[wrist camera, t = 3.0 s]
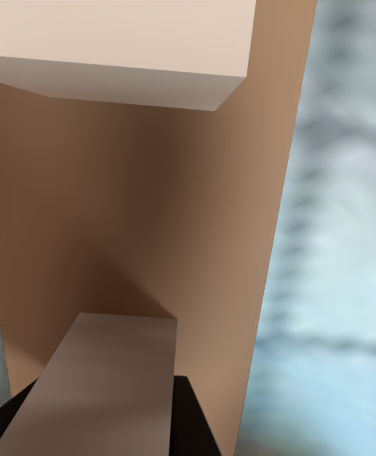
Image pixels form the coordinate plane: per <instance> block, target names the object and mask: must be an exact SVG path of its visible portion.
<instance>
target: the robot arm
mask: <svg viewBox="0 0 376 456" xmlns="http://www.w3.org/2000/svg"><path fill="white" fill-rule="evenodd" d="M38 378H39V377H38ZM38 378H37V379H36V380H34V381H33V382H32V383H31V384H29V385H28V386H27V387H25V388H24V389H23V390H22V391H20V392H19V393H18V394H17V395H15V396H14V397H13V398H11V399H10V400H9V401H8V402H6V403H5V404H4V405H2V406H1V407H0V439H1V437H2V436H3V434H4V432H5V431H6V429H7V428H8V426H9V424H10V423H11V421H12V420H13V418H14V416H15V415H16V413H17V412H18V410H19V409H20V407H21V405H22V404H23V402H24V401H25V399H26V397H27V396H28V394H29V393H30V391H31V389H32V388H33V386H34V385H35V383H36V381H37V380H38ZM169 456H223V455H222V453H221V451H220V448H219V446H218V444H217V442H216V439H215V437H214V435H213V433H212V430H211V428H210V426H209V424H208V421H207V419H206V417H205V415H204V412H203V410H202V408H201V406H200V403H199V401H198V399H197V397H196V394H195V392H194V390H193V388H192V385H191V383H190V381H189V379H188V377H187V376H181V375H174V381H173V396H172V411H171V426H170V441H169Z"/></svg>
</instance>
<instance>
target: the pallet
mask: <svg viewBox="0 0 376 456" xmlns="http://www.w3.org/2000/svg"><path fill="white" fill-rule="evenodd" d="M316 4H317V0H256V5H255V13H254V21H253V29H252V37H251V44H250V52H249V60H248V68H247V76H246V78H245V79H244V80H243V81H242V82H241V84H240V85H239V86H238V87H237V88H236V89H235V90H234V91H233V92H232V93H231V94H230V95H229V96H228V97H227V98H226V100H225V101H224V102H223V103H222V104H221V105H220V106H219V107H218V108H217V109H216V110H215V111H209V110H197V109H185V108H173V107H161V106H149V105H137V104H125V103H113V102H101V101H89V100H77V99H65V98H53V97H47V96H44V95H40V94H37V93H33V92H30V91H26V90H23V89H19V88H16V87H12V86H9V85H6V84H2V83H0V326H1V333H2V339H3V346H4V353H5V359H6V366H7V373H8V379H9V386H10V392H11V398H13V397H14V396H15V395H17V394H18V393H19V392H20V391H22V390H23V389H24V388H25V387H27V386H28V385H29V384H31V383H32V382H33V381H34V380H36V379H37V378H38V377H39V378H38V380H37V381H36V383H35V385H34V386H33V388H32V389H31V391H30V393H29V394H28V396H27V397H26V399H25V401H24V402H23V404H22V405H21V407H20V409H19V410H18V412H17V413H16V415H15V416H14V418H13V420H12V421H11V423H10V424H9V426H8V428H7V429H6V431H5V432H4V434H3V436H2V437H1V439H0V456H169V441H170V426H171V411H172V396H173V381H174V375H181V376H187V377H188V379H189V381H190V383H191V385H192V388H193V390H194V392H195V394H196V397H197V399H198V401H199V403H200V406H201V408H202V410H203V412H204V415H205V417H206V419H207V421H208V424H209V426H210V428H211V430H212V433H213V435H214V437H215V439H216V442H217V444H218V446H219V448H220V451H221V453H222V455H223V456H234V454H235V449H236V443H237V438H238V432H239V427H240V421H241V416H242V410H243V405H244V399H245V394H246V388H247V383H248V377H249V372H250V366H251V361H252V355H253V350H254V344H255V339H256V333H257V328H258V322H259V317H260V311H261V306H262V300H263V295H264V289H265V284H266V278H267V273H268V267H269V262H270V256H271V251H272V245H273V240H274V234H275V229H276V223H277V218H278V212H279V207H280V201H281V196H282V190H283V185H284V180H285V174H286V169H287V163H288V158H289V152H290V147H291V141H292V136H293V130H294V125H295V119H296V114H297V108H298V103H299V97H300V92H301V86H302V81H303V75H304V70H305V64H306V59H307V53H308V48H309V42H310V37H311V31H312V26H313V20H314V15H315V9H316Z"/></svg>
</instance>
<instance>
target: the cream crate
mask: <svg viewBox="0 0 376 456" xmlns="http://www.w3.org/2000/svg"><path fill="white" fill-rule="evenodd" d="M255 5H256V0H0V83H2V84H6V85H9V86H12V87H16V88H19V89H23V90H26V91H30V92H33V93H37V94H40V95H44V96H47V97H53V98H65V99H77V100H89V101H101V102H113V103H125V104H137V105H149V106H161V107H173V108H185V109H197V110H209V111H215V110H216V109H217V108H218V107H219V106H220V105H221V104H222V103H223V102H224V101H225V100H226V98H227V97H228V96H229V95H230V94H231V93H232V92H233V91H234V90H235V89H236V88H237V87H238V86H239V85H240V84H241V82H242V81H243V80H244V79H245V78H246V76H247V68H248V60H249V52H250V44H251V37H252V29H253V21H254V13H255Z"/></svg>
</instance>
